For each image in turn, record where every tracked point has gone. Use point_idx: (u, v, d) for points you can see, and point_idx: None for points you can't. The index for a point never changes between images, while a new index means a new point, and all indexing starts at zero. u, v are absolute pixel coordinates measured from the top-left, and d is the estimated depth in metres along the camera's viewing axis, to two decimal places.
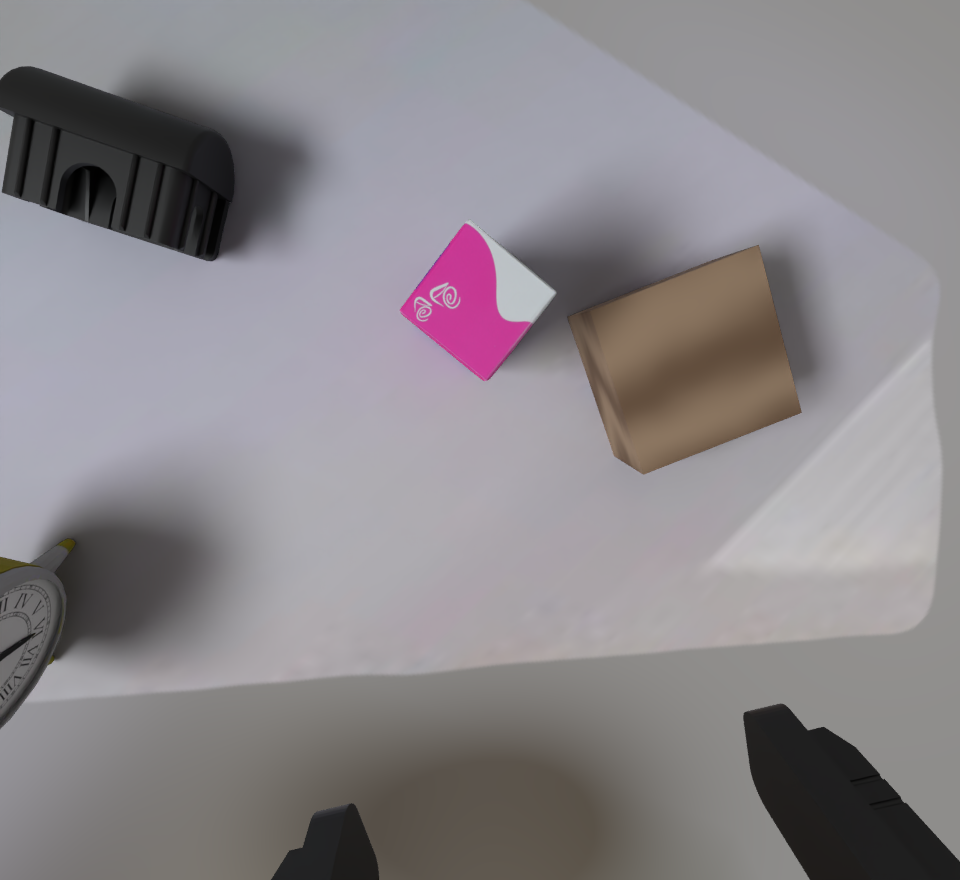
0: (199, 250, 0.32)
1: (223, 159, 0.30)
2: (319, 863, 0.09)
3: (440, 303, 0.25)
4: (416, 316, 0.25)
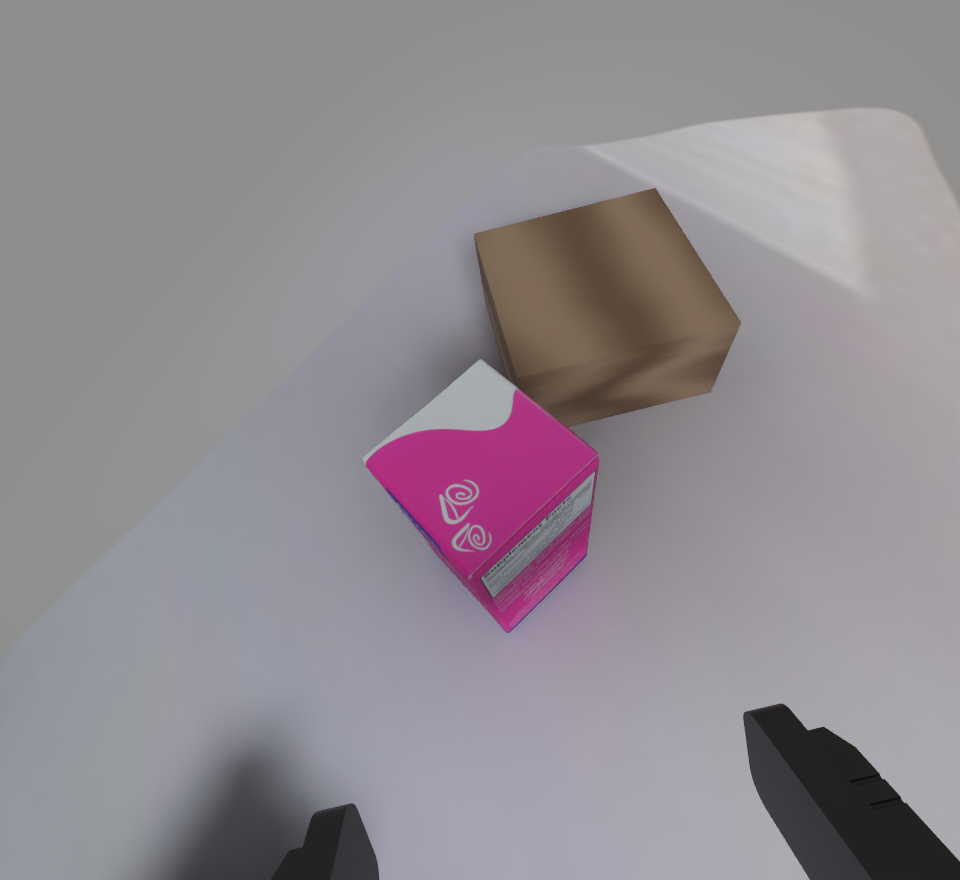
0: None
1: None
2: (319, 863, 0.09)
3: (468, 508, 0.15)
4: (482, 550, 0.15)
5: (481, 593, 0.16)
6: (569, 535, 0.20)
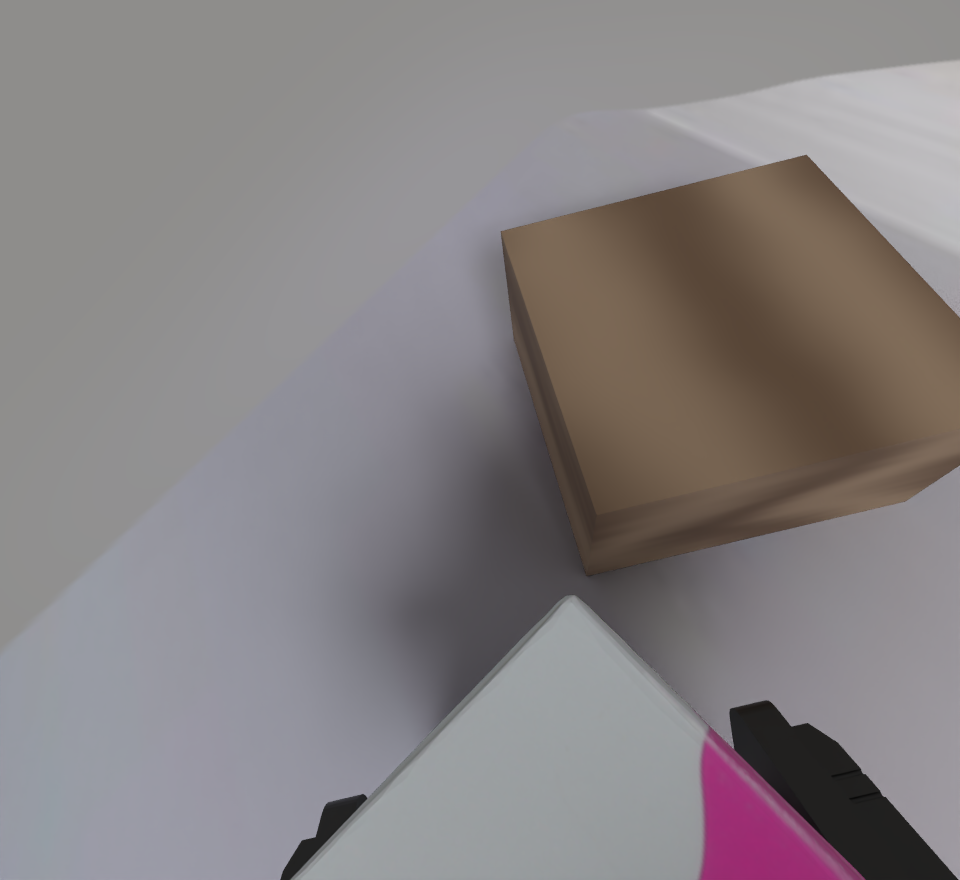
0: None
1: None
2: None
3: None
4: None
5: None
6: None
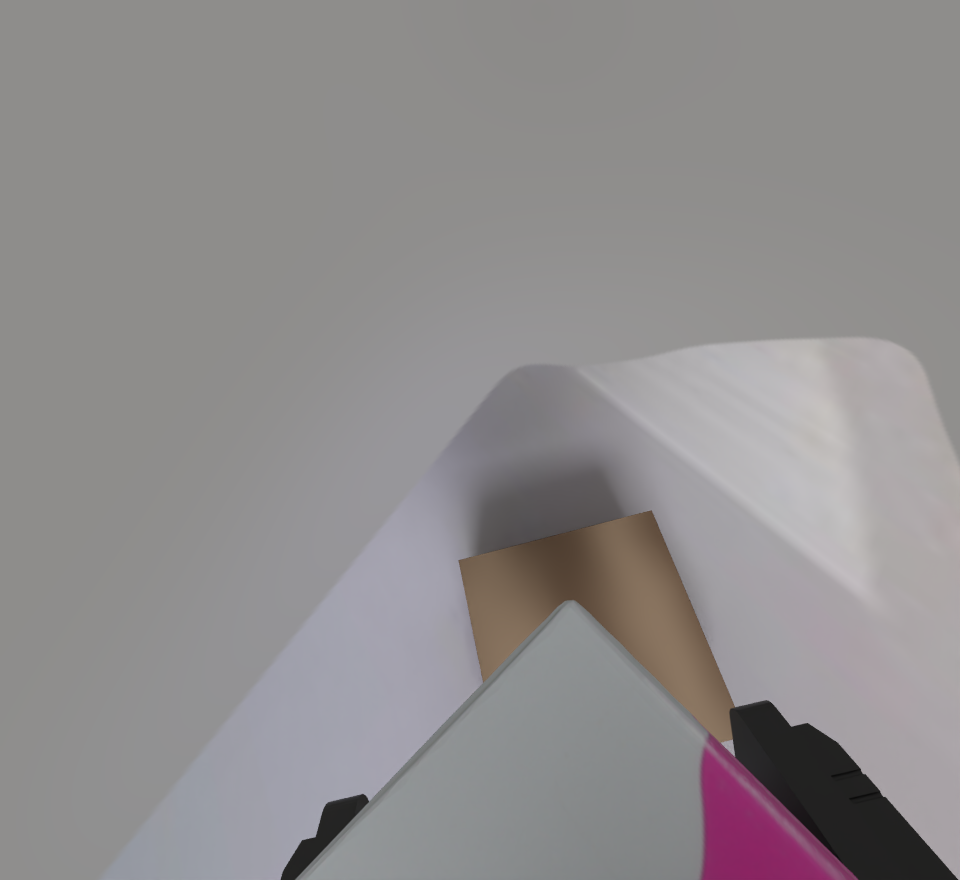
0: None
1: None
2: None
3: None
4: None
5: None
6: None
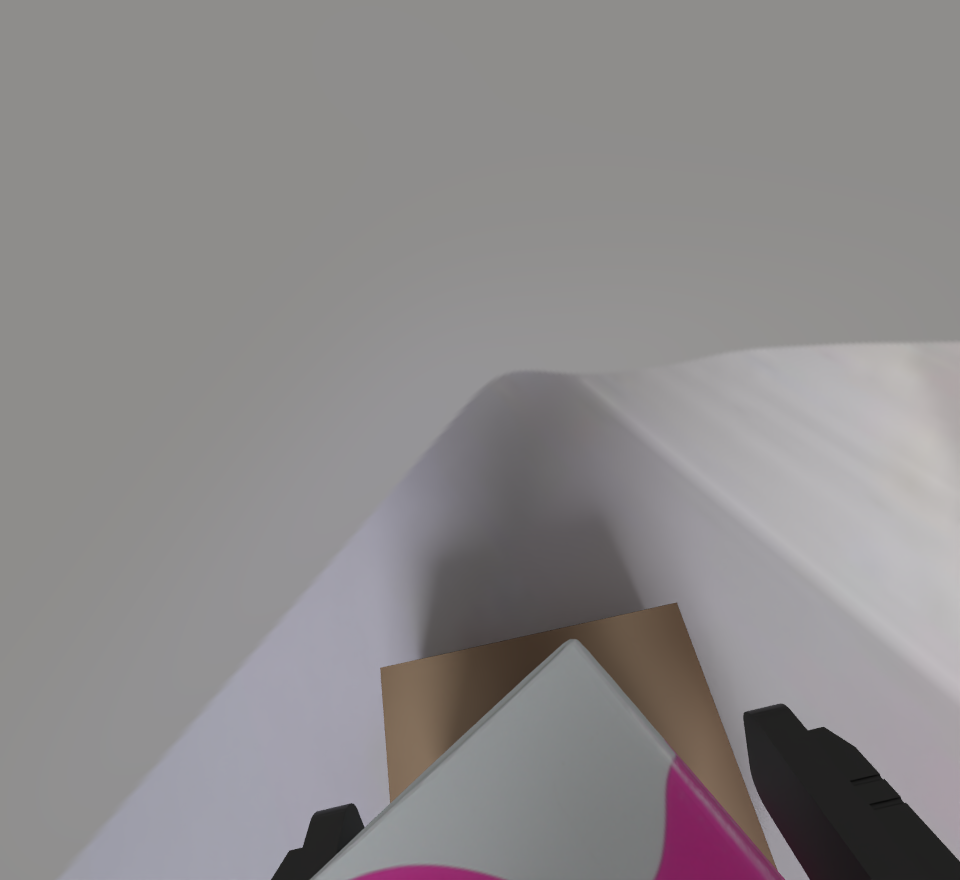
0: None
1: None
2: (319, 863, 0.09)
3: None
4: None
5: None
6: None
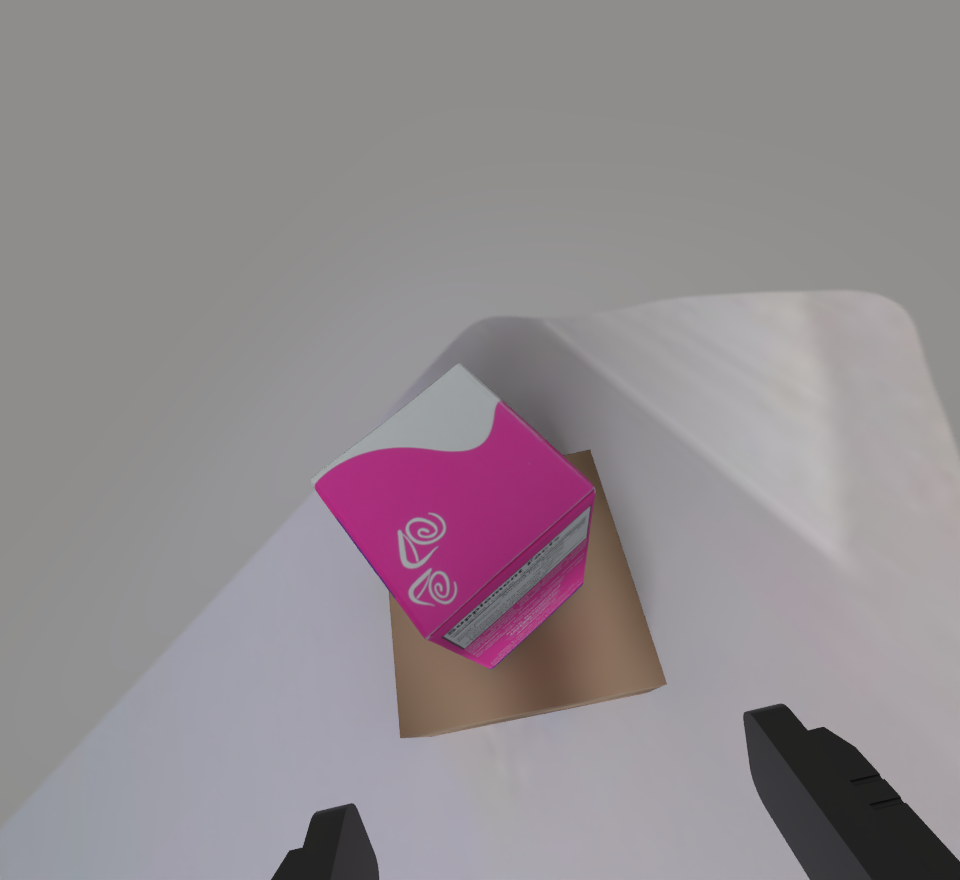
0: None
1: None
2: (319, 863, 0.09)
3: (431, 550, 0.13)
4: (445, 603, 0.12)
5: (447, 648, 0.14)
6: (560, 571, 0.17)
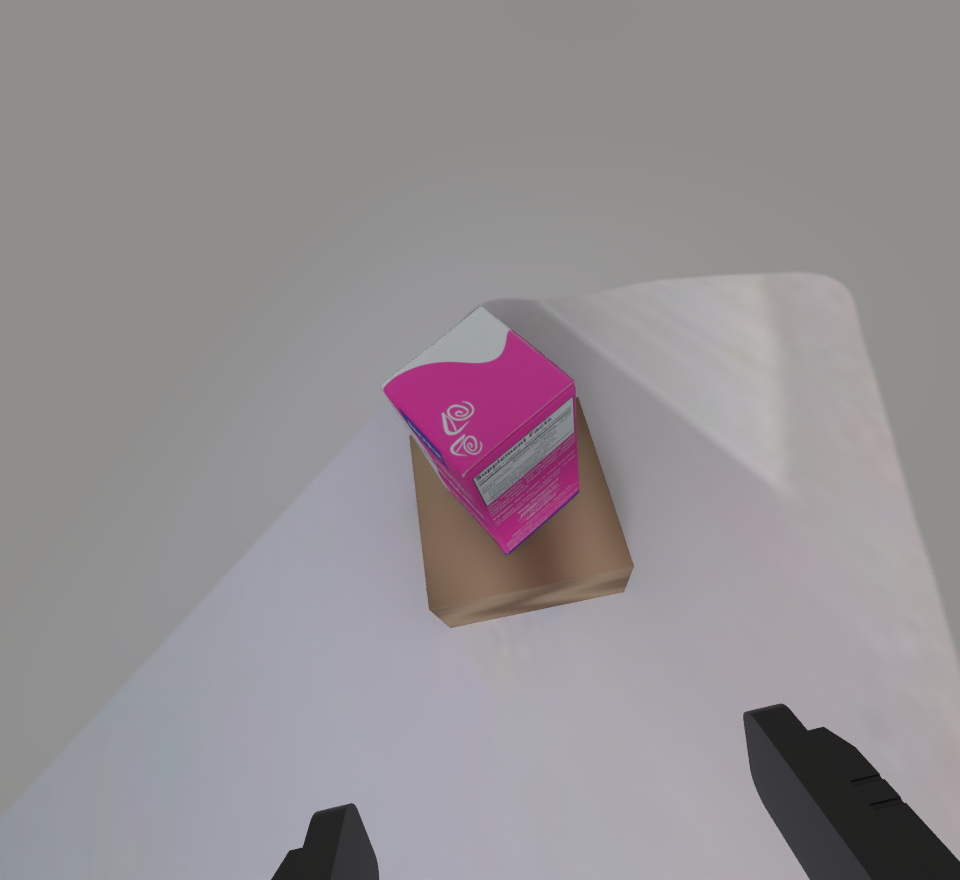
0: None
1: None
2: (319, 863, 0.09)
3: (464, 423, 0.19)
4: (474, 454, 0.18)
5: (475, 497, 0.20)
6: (556, 461, 0.23)
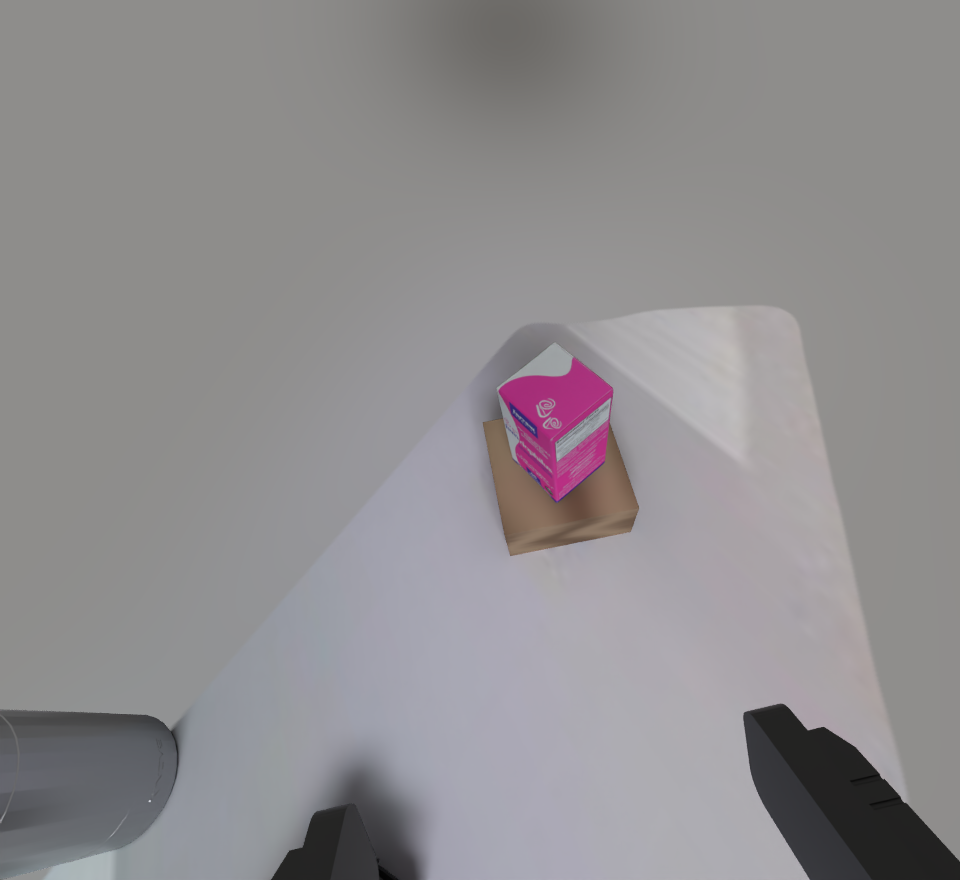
0: None
1: None
2: (319, 863, 0.09)
3: (550, 411, 0.33)
4: (557, 428, 0.32)
5: (553, 454, 0.34)
6: (596, 437, 0.37)
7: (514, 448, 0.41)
